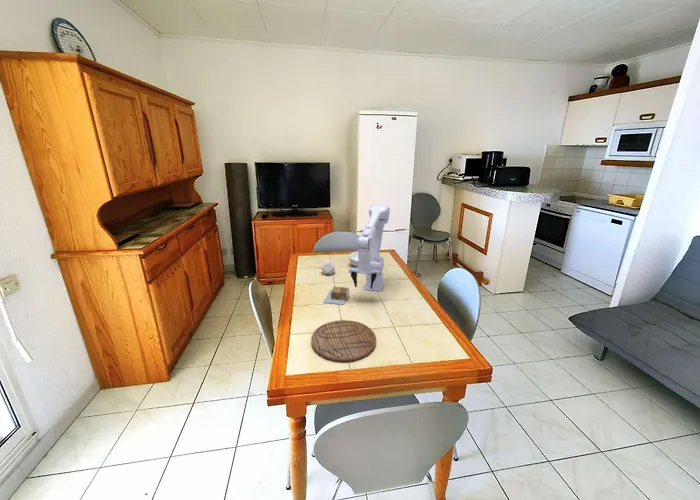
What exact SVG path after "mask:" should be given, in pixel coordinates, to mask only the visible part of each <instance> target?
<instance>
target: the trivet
mask: <svg viewBox="0 0 700 500" xmlns="http://www.w3.org/2000/svg"><path fill="white" fill-rule="evenodd" d="M310 341H311V347H312V350H313V352H314V353H316V355H318V357H320V358H323V359H324V360H327V361H330V362H334V363H351V362H356V361H357V362H358V361H360V360H363V359H364V358H367V357H368V356H369V355H370V354H372V352H374V349H376V345H377V344H376V343H377V342H376V341H377V336H376V334H375V332H374V331H373V330H372V329H371V327H369V326H367V325H366V324H364V323H361V322H360V321H354V320H345V319H342V320H333V321H330V322H326V323H324V324H322V325H320V326H319V327H317V328H316V329H315V330H314V331H313V332H312V334H311V339H310Z"/></svg>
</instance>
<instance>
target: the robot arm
mask: <svg viewBox="0 0 700 500" xmlns="http://www.w3.org/2000/svg"><path fill="white" fill-rule="evenodd" d="M390 212H391V211H390V207H389V206H388V205H387V206H386V205H374V204H372V205H370V206H369V209H368V215H369V221H368V224H367V225H365V226H364V228H363V230H362V233H361V235H360V236H359V237H357V239H356V248H357V251H358V267H349V268H348V274H350V277H351V279H352V280H353V283H354V284H353V285H354V288H357V286H358V274H361V275H366V276H365V285H364V288H363V289H364V290H366V291H367V290H368V291H376V292H383V288H384V285H385V283H384V276H385V272H383V270H384V262H385V261H384V258H383V256H382V257H381V256H380V255H379V254H381V252H380V251H381V246H382V240H383V233H384V228H385V225H386V224H388V222H389V219H390V214H391V213H390ZM357 251H356V252H357ZM370 259H374V260H370ZM377 260H379V261H377Z"/></svg>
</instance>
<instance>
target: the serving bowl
mask: <svg viewBox="0 0 700 500" xmlns="http://www.w3.org/2000/svg"><path fill="white" fill-rule="evenodd" d="M379 255H380V256H381V257H382V258H383V255H382V254H381V253H379ZM348 259H349V262H350V263H351V264H352V266H354V267H355V268H358V251H353V252H351V253H350V254H349V255H348ZM370 260H374V259H370ZM377 261H379V260H377Z"/></svg>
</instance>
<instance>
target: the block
mask: <svg viewBox="0 0 700 500" xmlns="http://www.w3.org/2000/svg"><path fill="white" fill-rule="evenodd" d="M331 290H332V291H331V299H336V300H346V301H348V299H349V297H350V287H346V286H345V287H344V286H333V287H332V289H331Z"/></svg>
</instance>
